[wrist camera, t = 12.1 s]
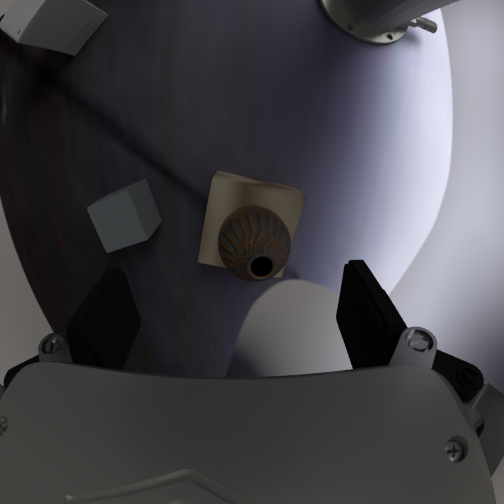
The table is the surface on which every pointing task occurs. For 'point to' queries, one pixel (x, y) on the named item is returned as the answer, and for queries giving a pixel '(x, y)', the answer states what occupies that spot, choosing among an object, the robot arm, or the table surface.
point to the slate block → (125, 216)
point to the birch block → (239, 195)
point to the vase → (254, 243)
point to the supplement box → (53, 23)
